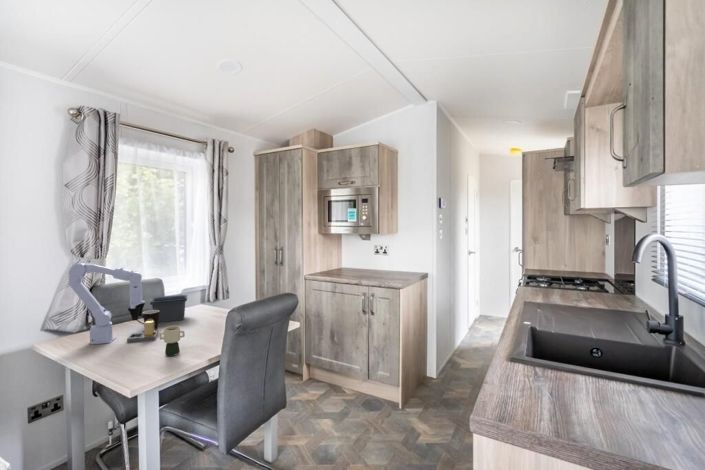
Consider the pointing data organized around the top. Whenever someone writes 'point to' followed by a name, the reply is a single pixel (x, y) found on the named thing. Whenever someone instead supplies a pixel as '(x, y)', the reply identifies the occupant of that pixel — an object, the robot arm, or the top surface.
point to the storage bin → (169, 307)
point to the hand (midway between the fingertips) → (137, 318)
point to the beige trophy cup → (171, 339)
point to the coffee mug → (151, 317)
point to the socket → (141, 337)
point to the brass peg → (149, 328)
